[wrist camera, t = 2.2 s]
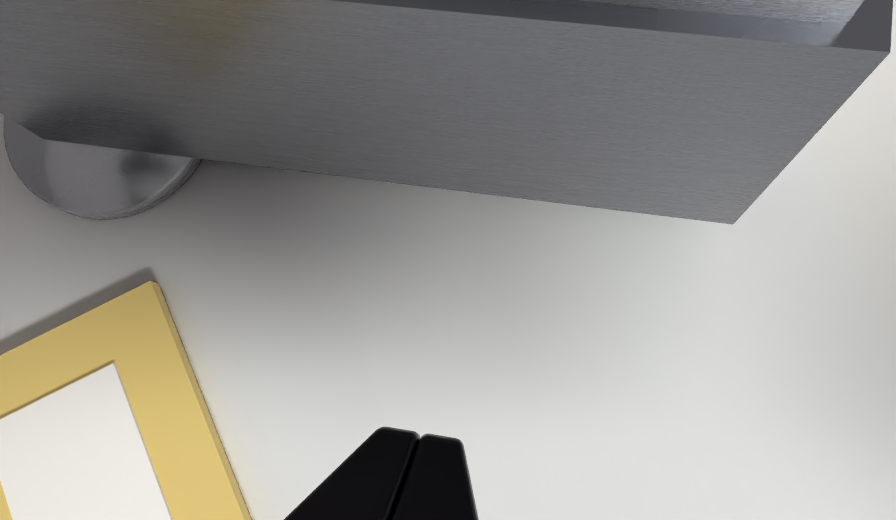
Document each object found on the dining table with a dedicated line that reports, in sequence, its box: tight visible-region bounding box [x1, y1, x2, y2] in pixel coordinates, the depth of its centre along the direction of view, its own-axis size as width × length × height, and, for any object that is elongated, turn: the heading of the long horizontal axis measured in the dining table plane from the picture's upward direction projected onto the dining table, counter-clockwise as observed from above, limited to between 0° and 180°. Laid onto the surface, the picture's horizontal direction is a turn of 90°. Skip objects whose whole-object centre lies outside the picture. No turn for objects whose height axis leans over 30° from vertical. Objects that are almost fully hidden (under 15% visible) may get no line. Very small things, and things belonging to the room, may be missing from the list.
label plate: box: [0, 280, 252, 520], centre depth 17 cm, size 6×8×1 cm
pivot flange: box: [4, 116, 202, 219], centre depth 19 cm, size 5×5×1 cm
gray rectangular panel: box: [0, 0, 893, 224], centre depth 14 cm, size 16×2×8 cm, turn 81°
